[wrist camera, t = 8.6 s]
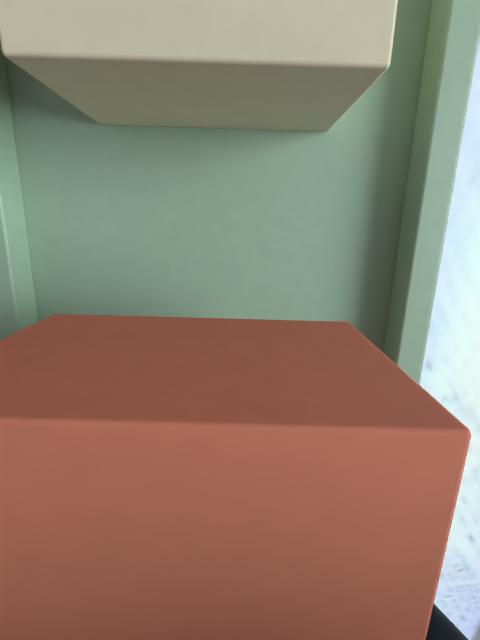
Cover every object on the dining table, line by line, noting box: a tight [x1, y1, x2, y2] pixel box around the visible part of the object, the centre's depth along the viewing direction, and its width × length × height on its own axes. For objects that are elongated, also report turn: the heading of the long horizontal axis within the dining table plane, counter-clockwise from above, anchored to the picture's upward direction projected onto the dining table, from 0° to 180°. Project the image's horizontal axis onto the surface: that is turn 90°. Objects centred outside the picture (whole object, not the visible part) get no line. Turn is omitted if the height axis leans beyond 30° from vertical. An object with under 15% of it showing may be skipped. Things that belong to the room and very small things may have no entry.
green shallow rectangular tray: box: [0, 0, 480, 384], centre depth 8 cm, size 24×12×5 cm, turn 178°
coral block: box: [0, 314, 471, 640], centre depth 6 cm, size 9×6×4 cm, turn 178°
